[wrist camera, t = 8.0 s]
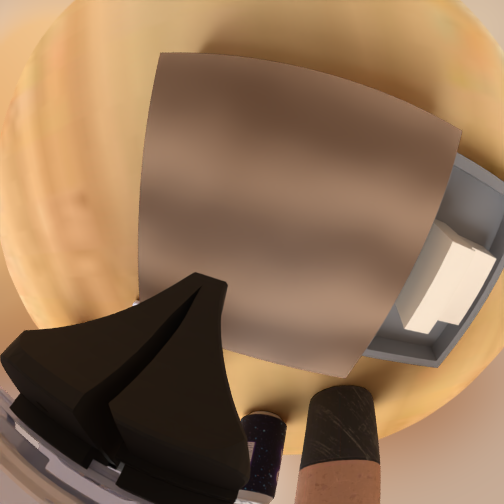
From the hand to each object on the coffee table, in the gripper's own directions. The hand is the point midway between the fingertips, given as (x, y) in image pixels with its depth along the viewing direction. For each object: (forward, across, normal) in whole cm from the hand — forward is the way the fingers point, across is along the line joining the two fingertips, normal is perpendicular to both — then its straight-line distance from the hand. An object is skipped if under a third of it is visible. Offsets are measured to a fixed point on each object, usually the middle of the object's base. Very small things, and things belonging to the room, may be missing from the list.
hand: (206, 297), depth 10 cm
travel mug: (+9, -14, +17) cm, 24 cm away
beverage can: (+9, -7, +24) cm, 27 cm away
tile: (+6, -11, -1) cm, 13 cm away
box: (+9, -15, -1) cm, 17 cm away
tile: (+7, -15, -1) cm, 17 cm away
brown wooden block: (+9, -2, -1) cm, 9 cm away
